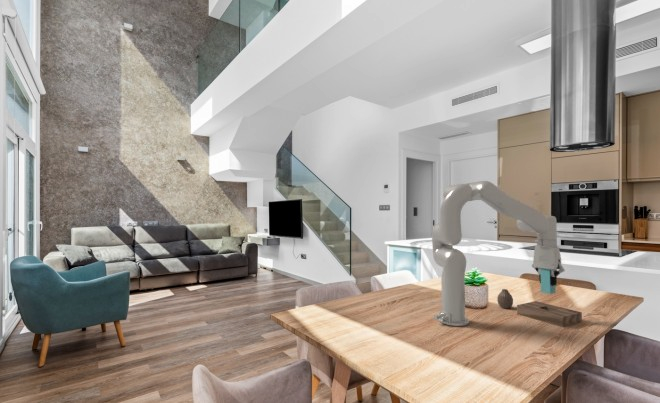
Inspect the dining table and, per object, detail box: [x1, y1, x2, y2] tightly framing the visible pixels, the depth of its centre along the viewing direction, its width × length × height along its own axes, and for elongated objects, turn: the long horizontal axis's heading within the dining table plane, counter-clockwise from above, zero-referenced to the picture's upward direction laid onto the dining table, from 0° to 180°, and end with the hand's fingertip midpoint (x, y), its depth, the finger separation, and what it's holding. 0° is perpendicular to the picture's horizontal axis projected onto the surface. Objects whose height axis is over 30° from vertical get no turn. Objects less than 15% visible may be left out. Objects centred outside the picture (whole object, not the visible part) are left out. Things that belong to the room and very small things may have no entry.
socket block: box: [516, 300, 583, 328], centre depth 153 cm, size 14×20×4 cm
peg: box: [540, 268, 556, 295], centre depth 153 cm, size 4×4×12 cm
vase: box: [496, 288, 514, 310], centre depth 168 cm, size 7×7×9 cm
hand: (548, 283), depth 153 cm, fingers closed on peg, 4 cm apart
